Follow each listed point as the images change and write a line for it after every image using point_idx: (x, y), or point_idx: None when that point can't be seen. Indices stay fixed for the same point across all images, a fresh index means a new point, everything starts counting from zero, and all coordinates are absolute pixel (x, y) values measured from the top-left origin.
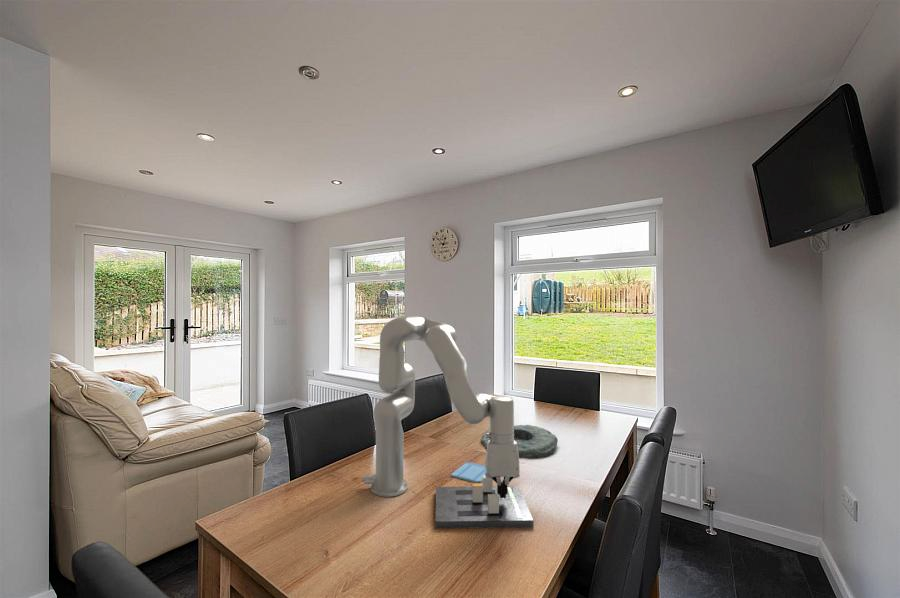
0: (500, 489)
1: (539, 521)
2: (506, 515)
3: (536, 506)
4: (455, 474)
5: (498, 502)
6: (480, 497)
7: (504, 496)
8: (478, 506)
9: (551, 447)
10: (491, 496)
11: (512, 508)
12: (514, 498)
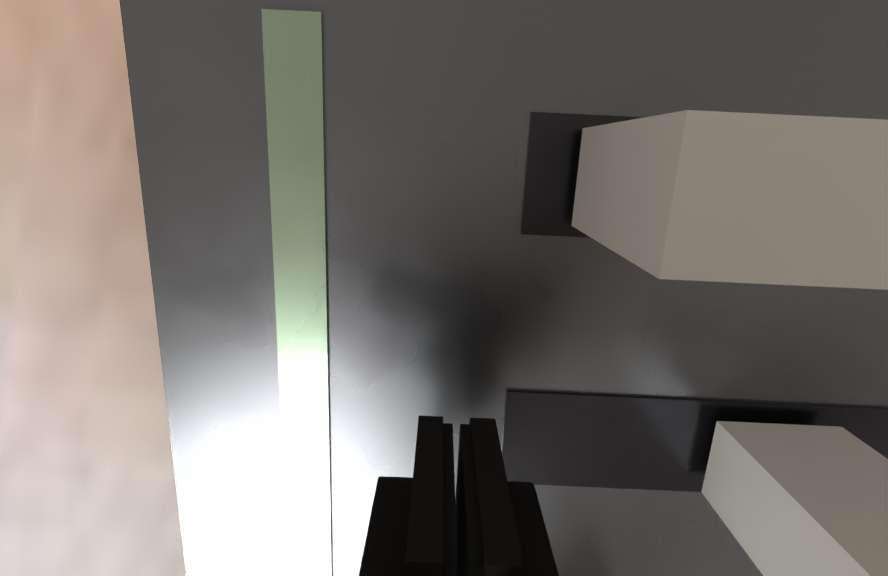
0: (509, 518)
1: (82, 110)
2: (474, 108)
3: (81, 410)
4: None
5: (647, 118)
6: (785, 458)
7: (437, 428)
8: (778, 354)
9: None
10: (853, 176)
11: (356, 277)
12: (288, 494)
